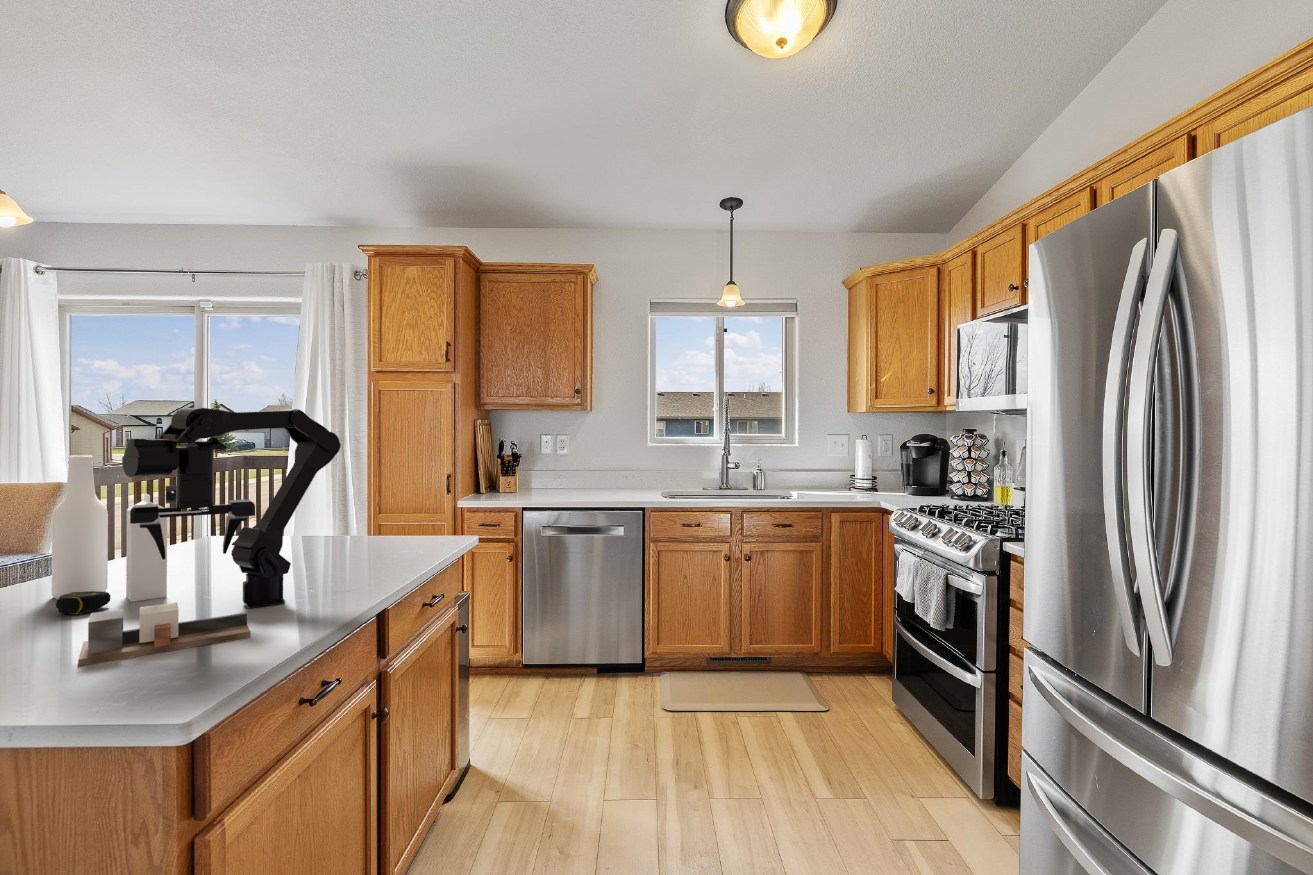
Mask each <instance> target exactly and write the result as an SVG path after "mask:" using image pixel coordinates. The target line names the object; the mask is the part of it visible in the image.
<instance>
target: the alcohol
mask: <svg viewBox="0 0 1313 875" xmlns="http://www.w3.org/2000/svg"><path fill="white" fill-rule="evenodd" d="M67 459H68V462H67V465H68V471H67V480H66V489H65V495H64V498H63V500H62V501H60V502H59V504H58V505H56V507H55V508H54V509H53V512H52V515H51V596H53V598H54V599H55V600H58V599H59V597H60V596H62V595H65V594H70V593H72V592H87V591H99V592H106V591H107V589H108V586H109V585H108V584H109V583H108V582H109V580H108V578H109V577H108V575H109V573H108V572H109V569H108V564H109V561H108V560H109V558H108V556H109V555H108V553H109V546H108V545H109V536H108V535H109V521H108V520H109V512H108V509H107V506H106V505H105V503H104V502H102V501H101V500H100V499H99V498H98V496H97V493H96V489H95V486H96V485H95V477H94V469H93V468H94V467H93V466H94V465H93V464H94V461H93V459H94V456H93V455H91V454H86V455H85V454H84V455H82V454H80V455H79V454H78V455H73V454H72V455H68V456H67Z"/></svg>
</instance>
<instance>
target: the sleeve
mask: <svg viewBox="0 0 1313 875" xmlns="http://www.w3.org/2000/svg"><path fill="white" fill-rule="evenodd" d="M179 610H180V609H179V604H178V602H171V603H169V602H168V603H163V604H154V605H146V606H141V607H139V643H144V642H150V641H154V634H155V625H161V624H168V623H170V638H175V637H178V623H179V616H180V615H179Z"/></svg>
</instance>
